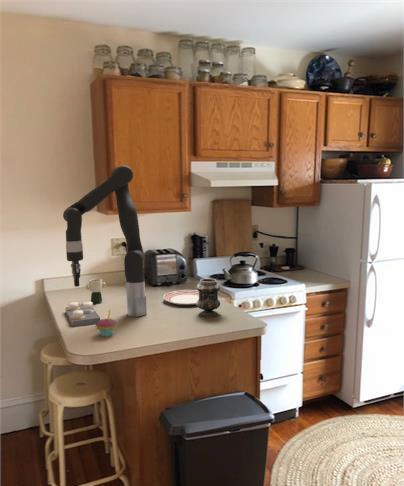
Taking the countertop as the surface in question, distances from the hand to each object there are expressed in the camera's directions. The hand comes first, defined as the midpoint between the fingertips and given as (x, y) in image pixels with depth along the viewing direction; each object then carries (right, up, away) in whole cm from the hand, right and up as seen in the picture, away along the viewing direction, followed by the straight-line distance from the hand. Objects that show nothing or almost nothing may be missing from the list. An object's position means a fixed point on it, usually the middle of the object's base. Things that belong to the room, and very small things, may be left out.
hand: (76, 286), depth 202 cm
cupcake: (+17, -20, -15) cm, 30 cm away
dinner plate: (+51, -13, +40) cm, 66 cm away
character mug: (0, -13, +39) cm, 41 cm away
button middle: (+2, -12, +12) cm, 17 cm away
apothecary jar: (+63, -16, +14) cm, 66 cm away
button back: (-7, -13, +17) cm, 22 cm away
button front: (0, -15, +2) cm, 15 cm away
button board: (-1, -17, +11) cm, 20 cm away
